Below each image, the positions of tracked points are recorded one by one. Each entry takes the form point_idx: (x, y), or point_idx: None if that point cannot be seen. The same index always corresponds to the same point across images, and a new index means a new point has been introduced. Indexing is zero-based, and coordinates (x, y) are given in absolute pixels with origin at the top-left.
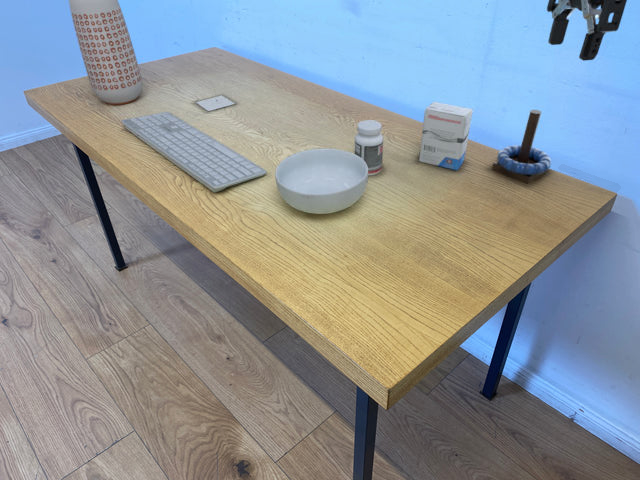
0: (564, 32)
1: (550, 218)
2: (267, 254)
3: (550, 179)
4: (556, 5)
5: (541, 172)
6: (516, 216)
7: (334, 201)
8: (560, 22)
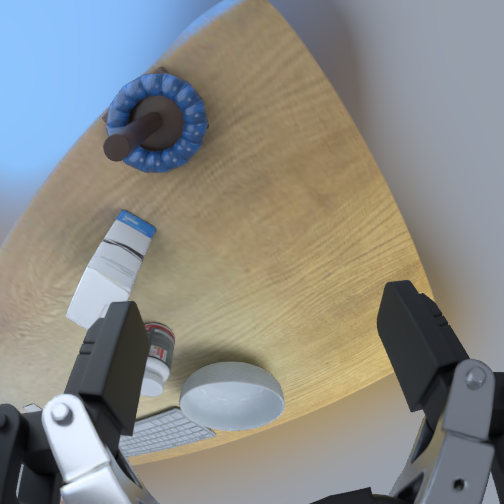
0: (121, 343)
1: (320, 135)
2: (306, 401)
3: (196, 75)
4: (49, 470)
5: (204, 105)
6: (304, 183)
7: (283, 395)
8: (125, 414)
